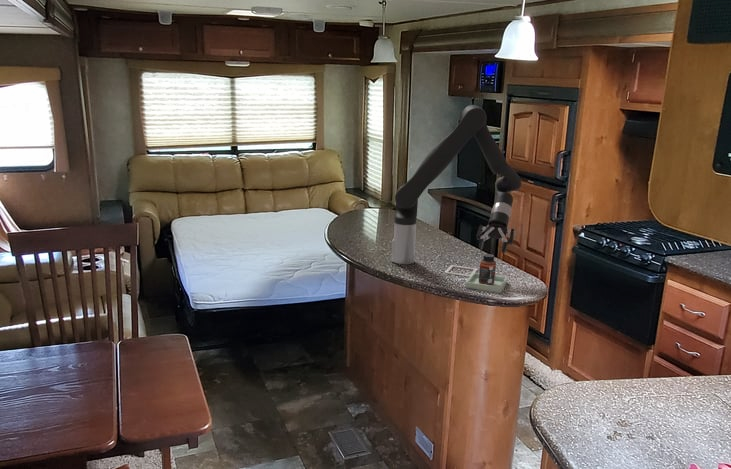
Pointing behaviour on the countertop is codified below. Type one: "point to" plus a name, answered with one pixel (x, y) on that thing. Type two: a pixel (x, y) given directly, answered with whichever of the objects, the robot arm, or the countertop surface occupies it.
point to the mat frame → (457, 273)
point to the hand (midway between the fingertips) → (491, 250)
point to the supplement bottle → (487, 270)
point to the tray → (496, 287)
